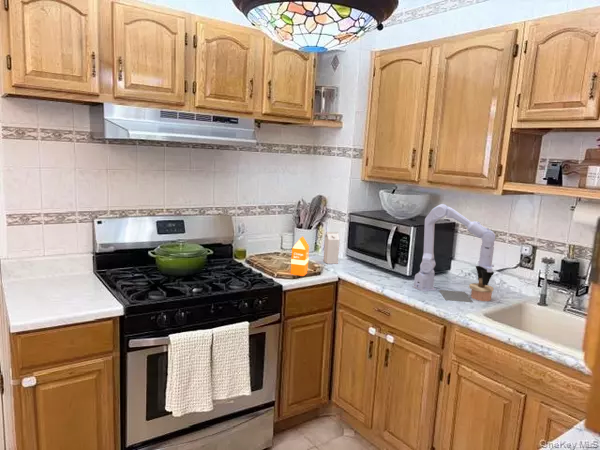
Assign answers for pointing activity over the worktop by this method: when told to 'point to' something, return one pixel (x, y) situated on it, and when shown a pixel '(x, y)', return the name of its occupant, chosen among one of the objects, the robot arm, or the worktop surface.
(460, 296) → the mat
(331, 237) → the milk carton
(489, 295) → the bowl
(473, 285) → the lid
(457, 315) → the worktop surface
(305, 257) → the orange juice
